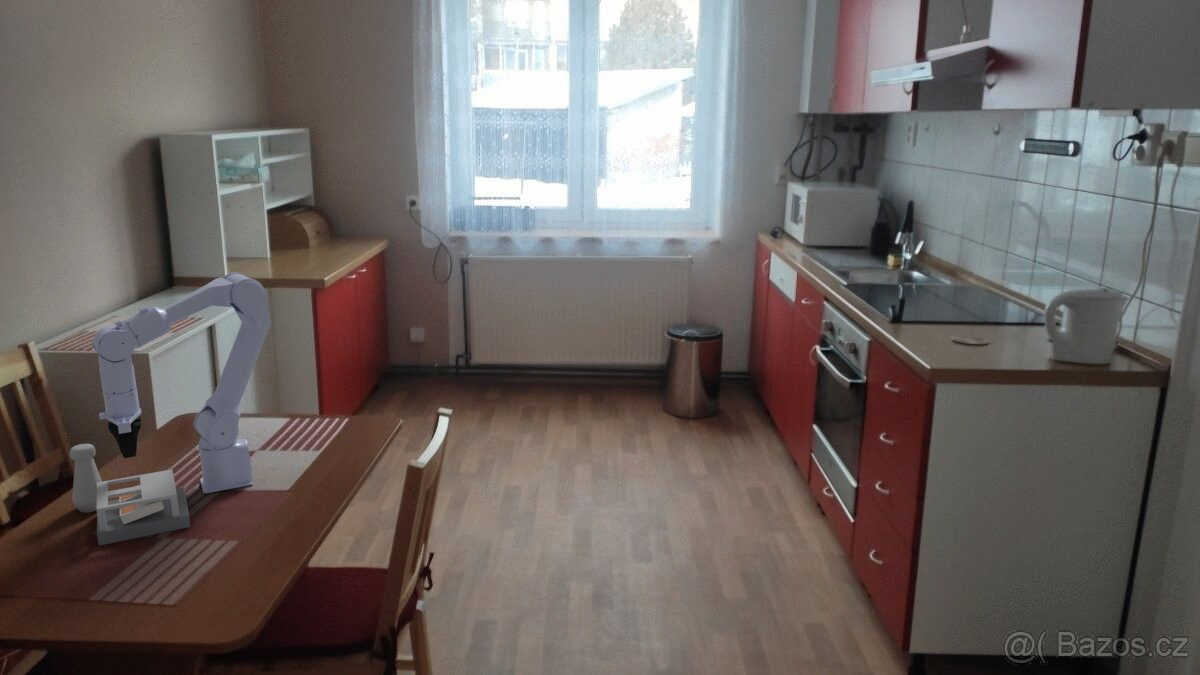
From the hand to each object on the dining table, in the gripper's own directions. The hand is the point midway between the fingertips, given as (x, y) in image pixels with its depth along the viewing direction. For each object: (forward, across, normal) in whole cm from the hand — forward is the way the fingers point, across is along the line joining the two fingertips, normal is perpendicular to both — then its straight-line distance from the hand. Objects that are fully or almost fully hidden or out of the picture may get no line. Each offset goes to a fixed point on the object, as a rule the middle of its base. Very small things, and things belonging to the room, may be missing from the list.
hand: (129, 456), depth 171 cm
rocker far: (+6, +5, +1) cm, 8 cm away
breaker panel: (+10, +8, +1) cm, 13 cm away
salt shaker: (+11, -3, -8) cm, 14 cm away
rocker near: (+6, +11, +1) cm, 13 cm away
